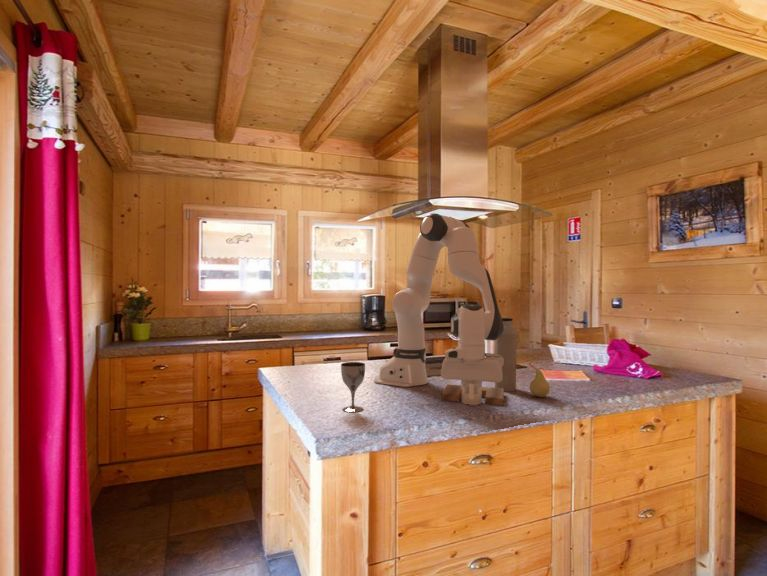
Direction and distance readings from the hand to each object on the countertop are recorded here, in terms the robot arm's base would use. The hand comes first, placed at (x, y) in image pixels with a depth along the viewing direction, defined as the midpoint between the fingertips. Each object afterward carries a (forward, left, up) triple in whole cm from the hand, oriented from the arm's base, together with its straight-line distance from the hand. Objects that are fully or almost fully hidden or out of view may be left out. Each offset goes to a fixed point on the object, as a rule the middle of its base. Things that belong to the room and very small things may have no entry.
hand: (471, 393), depth 148 cm
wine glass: (-37, -14, -5) cm, 40 cm away
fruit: (+23, +21, -5) cm, 31 cm away
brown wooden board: (0, +13, -5) cm, 14 cm away
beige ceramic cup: (0, +5, -5) cm, 7 cm away
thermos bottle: (+11, +29, -5) cm, 31 cm away
